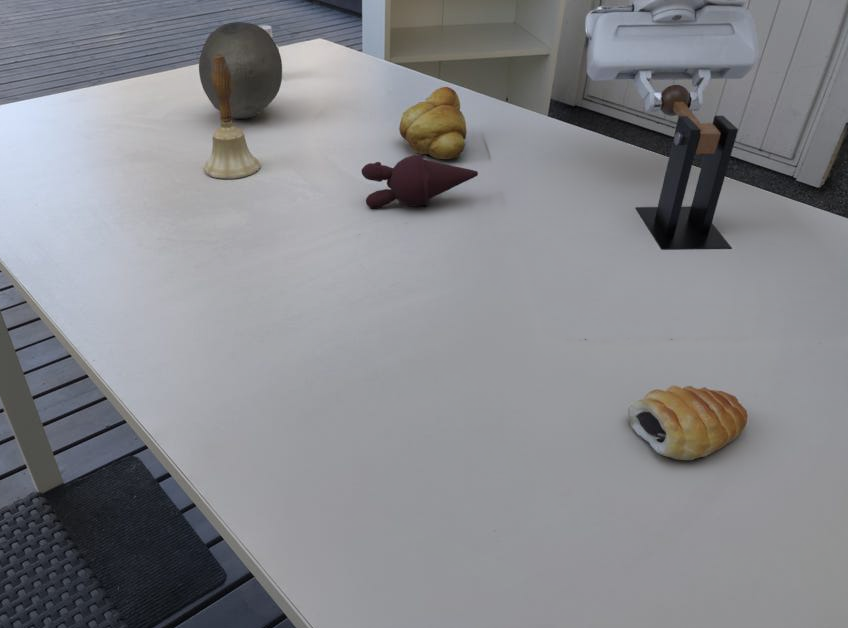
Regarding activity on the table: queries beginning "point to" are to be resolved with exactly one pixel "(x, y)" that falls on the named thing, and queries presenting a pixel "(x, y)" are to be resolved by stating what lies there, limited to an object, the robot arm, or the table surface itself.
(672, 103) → the lever
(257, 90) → the grey round ball
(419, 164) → the icecream
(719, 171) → the bracket
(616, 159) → the table surface
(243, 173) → the hand bell
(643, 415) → the pastry
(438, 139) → the bread roll
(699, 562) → the table surface
